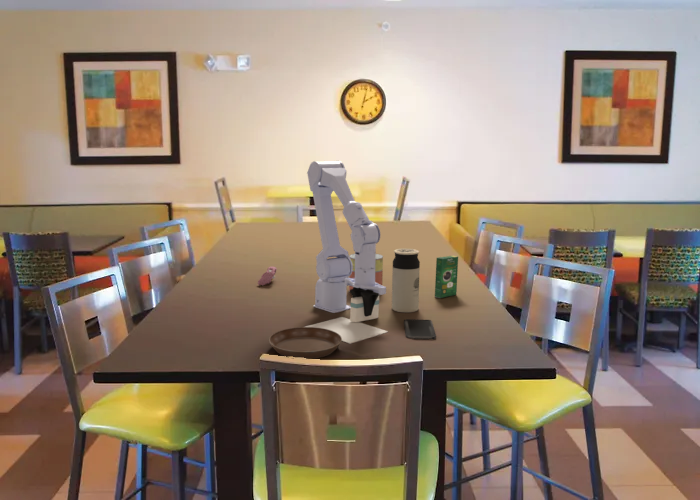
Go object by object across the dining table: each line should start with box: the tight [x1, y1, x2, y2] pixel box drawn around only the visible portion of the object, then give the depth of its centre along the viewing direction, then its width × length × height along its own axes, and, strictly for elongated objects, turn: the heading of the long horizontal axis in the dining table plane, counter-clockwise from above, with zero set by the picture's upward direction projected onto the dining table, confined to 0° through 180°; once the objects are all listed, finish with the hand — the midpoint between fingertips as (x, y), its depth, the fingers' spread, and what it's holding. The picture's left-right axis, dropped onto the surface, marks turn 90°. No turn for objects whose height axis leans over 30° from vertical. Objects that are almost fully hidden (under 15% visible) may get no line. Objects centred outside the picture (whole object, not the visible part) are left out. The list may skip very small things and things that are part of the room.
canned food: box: [348, 253, 384, 293], centre depth 208 cm, size 11×11×12 cm
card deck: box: [349, 295, 380, 323], centre depth 175 cm, size 2×9×6 cm, turn 133°
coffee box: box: [434, 255, 459, 299], centre depth 202 cm, size 8×3×13 cm, turn 129°
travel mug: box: [391, 248, 421, 314], centre depth 185 cm, size 8×8×18 cm
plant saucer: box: [268, 326, 343, 359], centre depth 152 cm, size 18×18×3 cm
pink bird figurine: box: [257, 266, 278, 286], centre depth 219 cm, size 10×5×7 cm, turn 0°
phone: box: [403, 318, 437, 340], centre depth 167 cm, size 8×1×15 cm
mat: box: [304, 316, 389, 345], centre depth 167 cm, size 18×14×1 cm
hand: (364, 314), depth 175 cm, fingers closed on card deck, 2 cm apart
